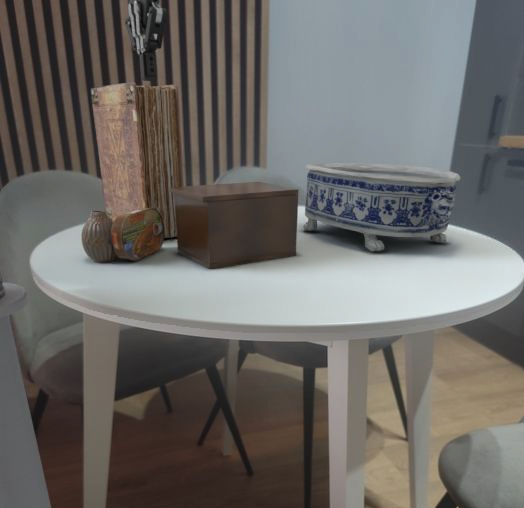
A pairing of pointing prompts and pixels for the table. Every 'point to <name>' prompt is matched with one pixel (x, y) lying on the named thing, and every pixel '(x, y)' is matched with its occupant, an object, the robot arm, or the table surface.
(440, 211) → the decorative bowl
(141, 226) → the tin
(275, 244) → the chest
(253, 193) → the lid
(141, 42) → the robot arm
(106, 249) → the vase
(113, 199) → the book
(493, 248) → the table surface
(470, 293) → the table surface
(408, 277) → the table surface
